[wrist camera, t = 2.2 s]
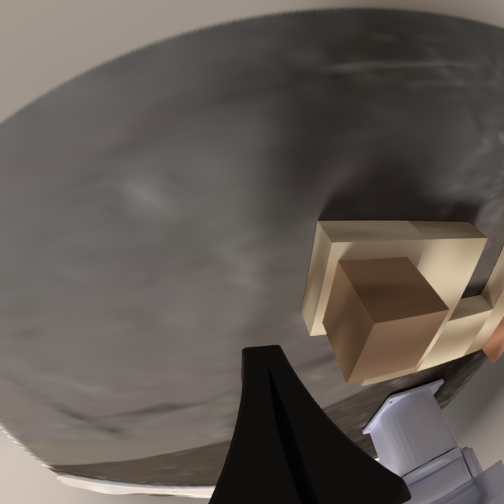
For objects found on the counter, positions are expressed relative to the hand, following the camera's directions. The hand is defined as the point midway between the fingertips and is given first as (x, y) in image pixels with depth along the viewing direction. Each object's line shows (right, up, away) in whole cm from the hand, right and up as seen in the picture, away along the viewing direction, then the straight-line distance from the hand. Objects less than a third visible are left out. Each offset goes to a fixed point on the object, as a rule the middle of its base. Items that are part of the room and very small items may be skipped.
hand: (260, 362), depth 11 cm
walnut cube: (+6, +2, +4) cm, 7 cm away
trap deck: (+12, +1, +8) cm, 15 cm away
